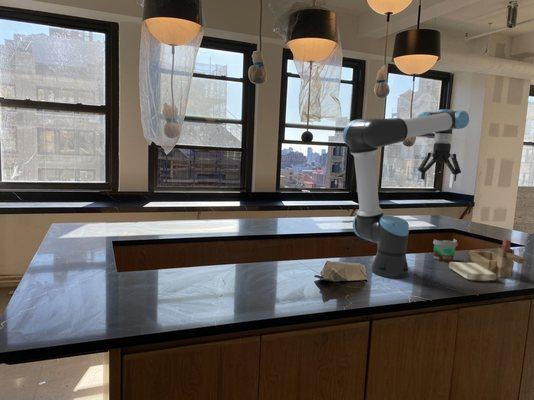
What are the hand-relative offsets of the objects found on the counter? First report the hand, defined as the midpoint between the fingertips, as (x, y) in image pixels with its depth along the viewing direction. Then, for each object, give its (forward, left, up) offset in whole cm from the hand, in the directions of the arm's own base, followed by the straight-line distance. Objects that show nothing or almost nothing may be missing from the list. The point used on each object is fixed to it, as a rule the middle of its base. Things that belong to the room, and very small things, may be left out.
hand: (437, 187), depth 189 cm
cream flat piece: (+6, -27, -35) cm, 45 cm away
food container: (+5, -7, -35) cm, 36 cm away
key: (+20, -31, -26) cm, 45 cm away
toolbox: (+20, -19, -35) cm, 44 cm away
